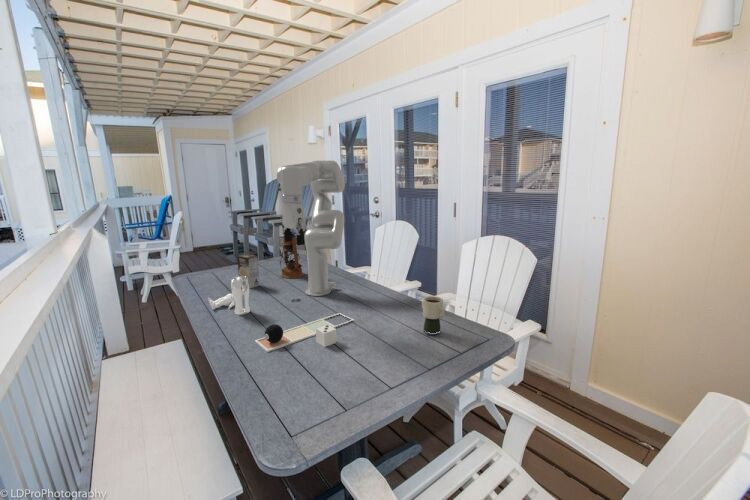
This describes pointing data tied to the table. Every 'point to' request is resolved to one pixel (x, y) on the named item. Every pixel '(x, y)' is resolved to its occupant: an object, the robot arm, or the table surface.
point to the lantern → (292, 267)
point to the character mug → (432, 313)
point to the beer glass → (240, 294)
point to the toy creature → (222, 302)
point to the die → (326, 335)
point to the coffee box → (249, 268)
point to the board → (297, 333)
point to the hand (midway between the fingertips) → (294, 243)
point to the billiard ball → (274, 333)
